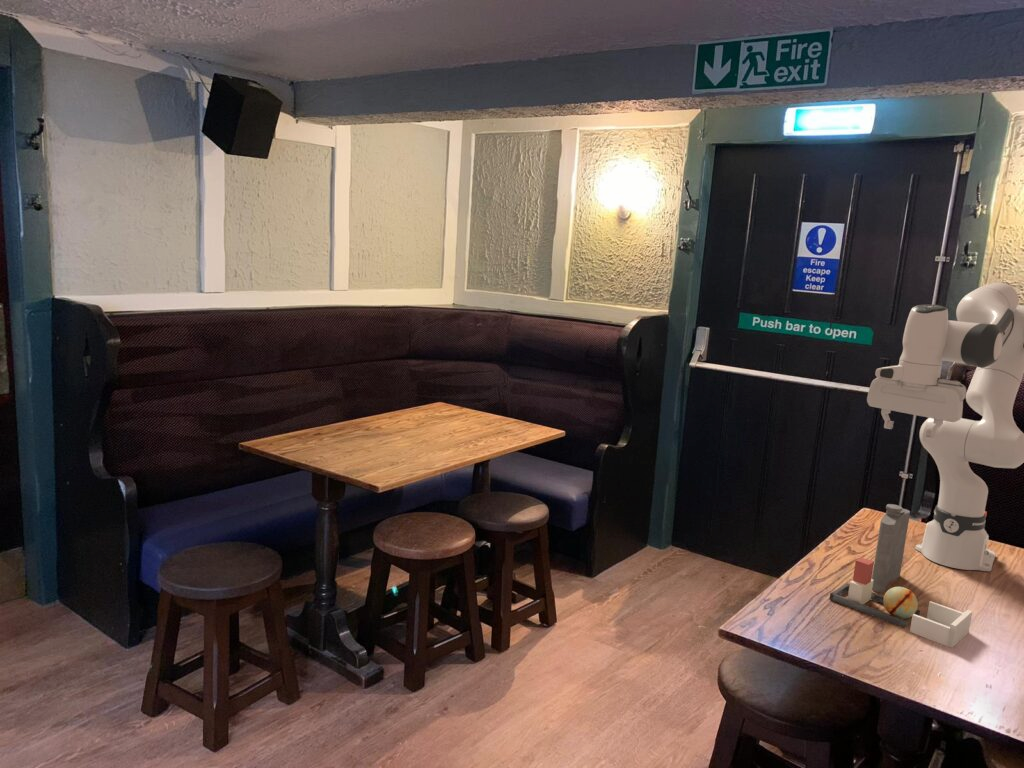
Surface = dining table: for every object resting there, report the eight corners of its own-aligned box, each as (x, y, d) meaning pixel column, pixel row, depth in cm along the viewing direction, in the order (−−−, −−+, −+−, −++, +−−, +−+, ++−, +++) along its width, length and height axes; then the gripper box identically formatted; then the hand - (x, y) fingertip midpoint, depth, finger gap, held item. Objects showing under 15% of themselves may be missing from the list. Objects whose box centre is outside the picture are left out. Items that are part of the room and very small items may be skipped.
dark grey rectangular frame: (846, 588, 190) (847, 583, 190) (919, 615, 178) (920, 609, 178) (829, 599, 184) (830, 593, 184) (904, 627, 172) (905, 621, 172)
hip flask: (882, 594, 188) (894, 515, 185) (864, 588, 191) (876, 511, 187) (901, 575, 200) (913, 501, 197) (884, 570, 203) (896, 497, 199)
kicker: (858, 594, 187) (863, 555, 185) (870, 599, 184) (876, 560, 182) (847, 601, 182) (853, 561, 181) (859, 606, 180) (865, 566, 178)
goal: (927, 617, 178) (931, 597, 177) (968, 632, 172) (972, 611, 171) (909, 631, 170) (913, 610, 169) (951, 647, 164) (955, 626, 163)
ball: (875, 614, 178) (879, 585, 176) (890, 606, 182) (895, 578, 181) (906, 627, 172) (910, 598, 171) (921, 619, 176) (925, 590, 175)
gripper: (972, 381, 175) (961, 441, 177) (879, 367, 189) (870, 422, 192) (963, 383, 171) (952, 444, 173) (869, 368, 185) (860, 425, 187)
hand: (908, 432), depth 183 cm, fingers open, 8 cm apart
